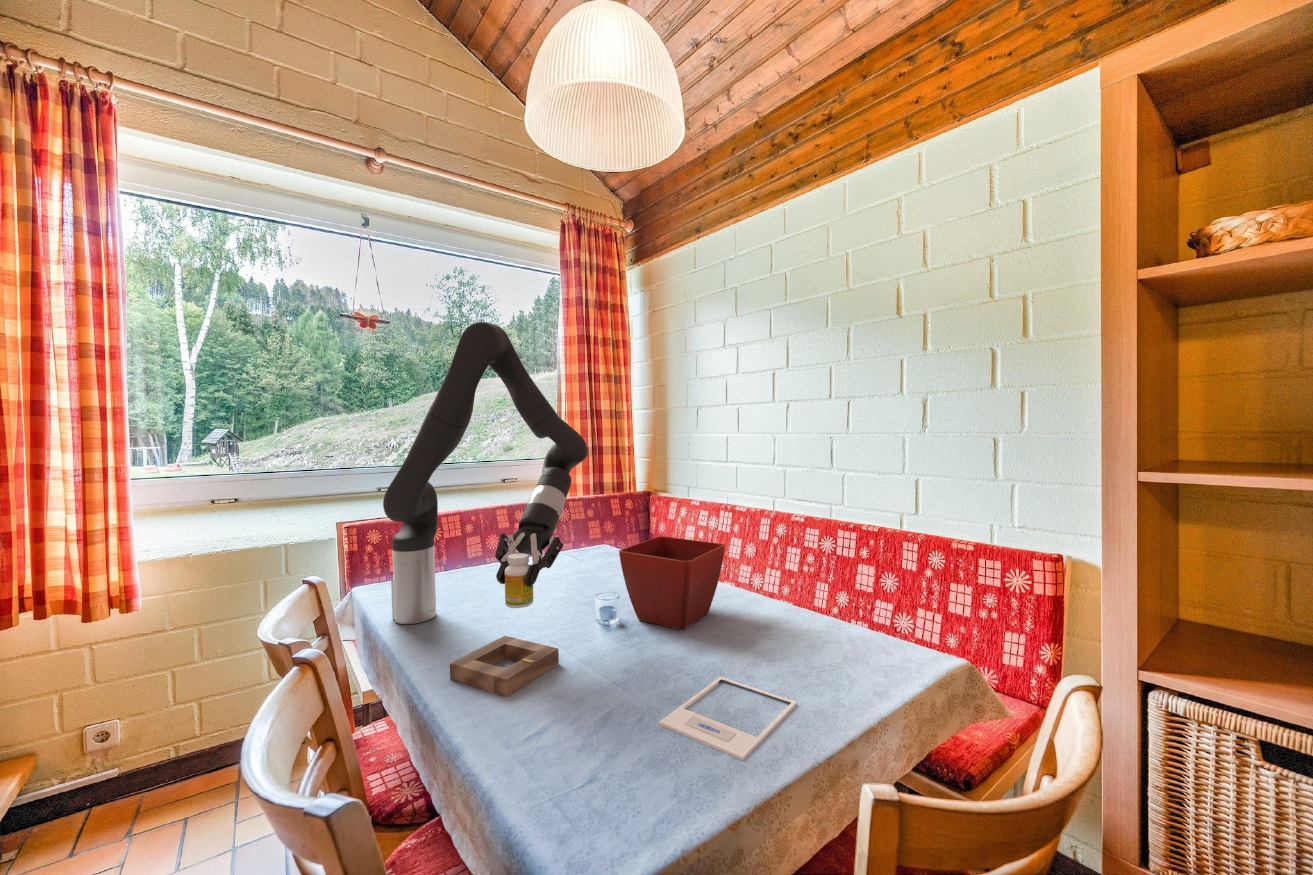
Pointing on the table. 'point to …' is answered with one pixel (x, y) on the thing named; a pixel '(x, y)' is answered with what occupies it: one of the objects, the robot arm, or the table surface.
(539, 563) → the robot arm
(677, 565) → the plant pot
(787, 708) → the photo frame
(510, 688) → the socket block
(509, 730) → the table surface
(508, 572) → the supplement bottle
